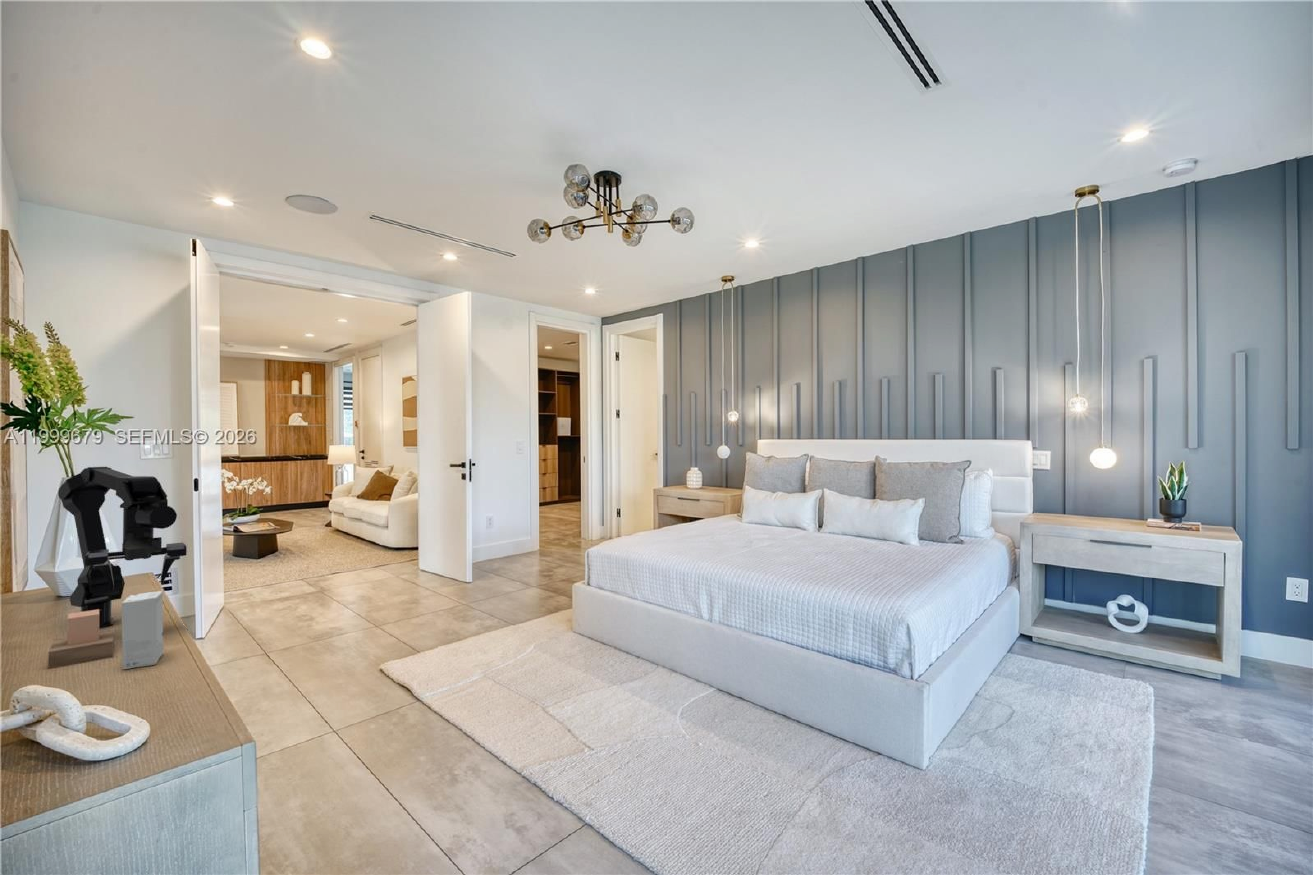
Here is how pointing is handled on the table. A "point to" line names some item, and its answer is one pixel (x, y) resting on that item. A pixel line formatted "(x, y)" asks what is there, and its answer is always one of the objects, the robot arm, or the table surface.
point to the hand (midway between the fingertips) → (137, 587)
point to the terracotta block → (83, 627)
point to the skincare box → (142, 630)
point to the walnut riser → (81, 650)
